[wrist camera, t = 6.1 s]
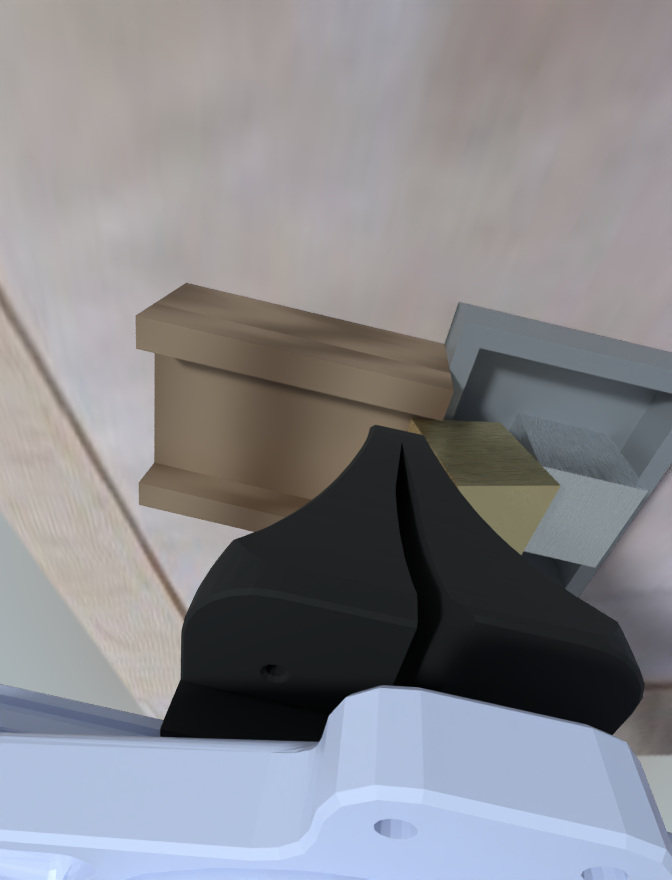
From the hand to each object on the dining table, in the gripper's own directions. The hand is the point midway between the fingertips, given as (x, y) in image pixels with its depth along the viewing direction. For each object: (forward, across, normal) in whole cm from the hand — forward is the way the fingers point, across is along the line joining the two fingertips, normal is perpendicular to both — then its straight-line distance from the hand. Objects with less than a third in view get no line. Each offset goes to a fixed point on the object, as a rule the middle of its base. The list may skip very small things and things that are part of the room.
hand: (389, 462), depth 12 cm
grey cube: (+7, -6, +4) cm, 10 cm away
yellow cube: (+7, -3, +4) cm, 8 cm away
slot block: (+9, +4, +4) cm, 11 cm away
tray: (+9, -7, +4) cm, 12 cm away
